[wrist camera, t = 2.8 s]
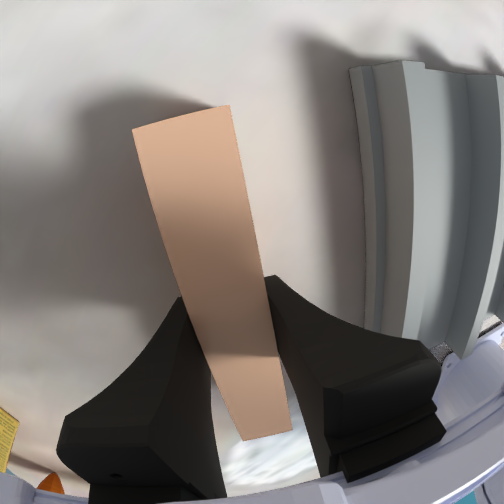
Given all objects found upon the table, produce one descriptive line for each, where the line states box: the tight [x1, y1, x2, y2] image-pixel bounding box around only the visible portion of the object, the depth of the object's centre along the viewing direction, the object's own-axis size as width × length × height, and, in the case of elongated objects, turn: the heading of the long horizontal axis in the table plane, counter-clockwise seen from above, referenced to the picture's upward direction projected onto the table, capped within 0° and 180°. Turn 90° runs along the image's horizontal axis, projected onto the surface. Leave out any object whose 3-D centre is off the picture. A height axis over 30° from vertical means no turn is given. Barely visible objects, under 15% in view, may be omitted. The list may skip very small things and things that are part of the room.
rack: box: [349, 60, 504, 360], centre depth 12 cm, size 16×13×3 cm
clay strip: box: [132, 105, 293, 441], centre depth 11 cm, size 14×2×4 cm, turn 10°
